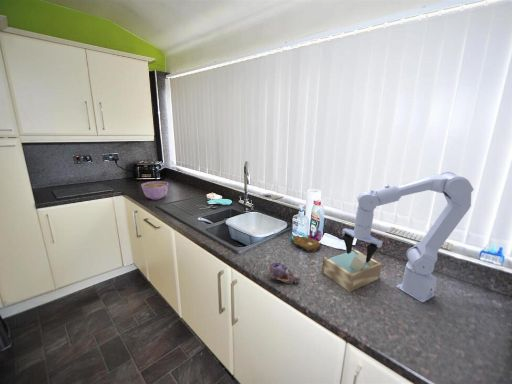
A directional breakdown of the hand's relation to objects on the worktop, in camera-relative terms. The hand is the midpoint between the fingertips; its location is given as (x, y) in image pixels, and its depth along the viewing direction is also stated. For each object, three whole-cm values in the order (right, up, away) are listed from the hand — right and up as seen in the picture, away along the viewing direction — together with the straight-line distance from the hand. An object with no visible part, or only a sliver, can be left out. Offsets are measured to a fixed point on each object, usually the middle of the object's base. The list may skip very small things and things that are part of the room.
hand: (358, 256), depth 92 cm
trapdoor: (-2, -5, +4) cm, 6 cm away
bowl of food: (-118, +20, +97) cm, 154 cm away
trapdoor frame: (-1, -9, +4) cm, 10 cm away
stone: (0, -5, +2) cm, 5 cm away
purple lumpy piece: (-29, -9, +1) cm, 30 cm away
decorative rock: (-15, -2, +28) cm, 32 cm away
